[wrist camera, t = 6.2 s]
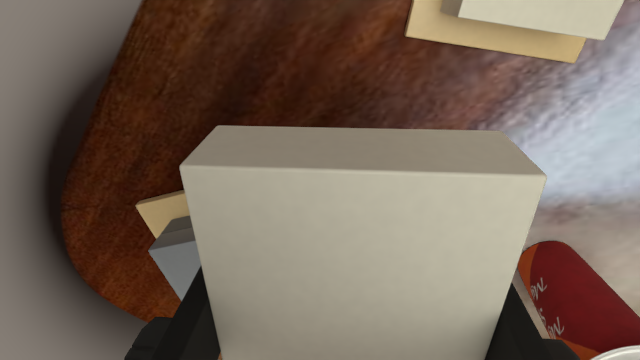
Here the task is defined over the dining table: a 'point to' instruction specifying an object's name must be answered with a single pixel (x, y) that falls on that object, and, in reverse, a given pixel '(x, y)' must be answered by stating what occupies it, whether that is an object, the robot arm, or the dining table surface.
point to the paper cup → (579, 304)
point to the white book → (358, 239)
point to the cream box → (514, 24)
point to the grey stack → (172, 238)
